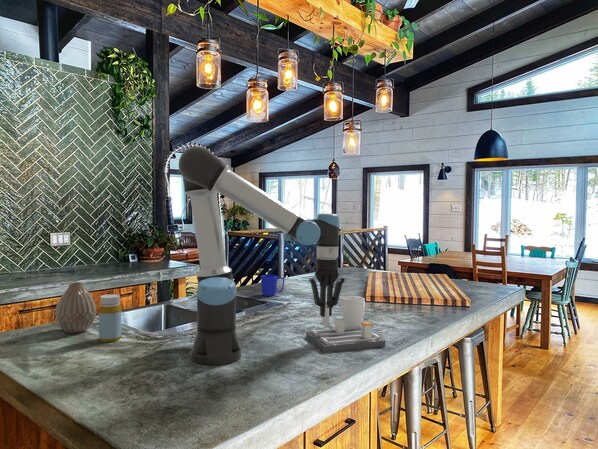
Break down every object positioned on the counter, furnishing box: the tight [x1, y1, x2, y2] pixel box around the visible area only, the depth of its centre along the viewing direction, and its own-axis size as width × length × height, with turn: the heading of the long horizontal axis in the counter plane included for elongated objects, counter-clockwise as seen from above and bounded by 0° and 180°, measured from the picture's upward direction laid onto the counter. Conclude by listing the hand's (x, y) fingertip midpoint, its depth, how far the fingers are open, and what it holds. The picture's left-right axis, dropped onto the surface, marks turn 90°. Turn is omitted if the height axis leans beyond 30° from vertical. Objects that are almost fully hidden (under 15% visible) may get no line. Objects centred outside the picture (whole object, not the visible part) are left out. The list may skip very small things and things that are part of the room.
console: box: [305, 326, 386, 353], centre depth 152 cm, size 22×18×3 cm
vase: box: [55, 281, 97, 334], centre depth 161 cm, size 13×13×18 cm
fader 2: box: [361, 320, 373, 339], centre depth 150 cm, size 2×3×5 cm
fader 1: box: [334, 315, 344, 333], centre depth 156 cm, size 2×3×5 cm
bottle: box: [98, 293, 123, 343], centre depth 151 cm, size 7×7×15 cm
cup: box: [340, 295, 366, 328], centre depth 166 cm, size 9×9×12 cm
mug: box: [260, 274, 285, 297], centre depth 227 cm, size 8×12×10 cm
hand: (325, 325), depth 155 cm, fingers closed
